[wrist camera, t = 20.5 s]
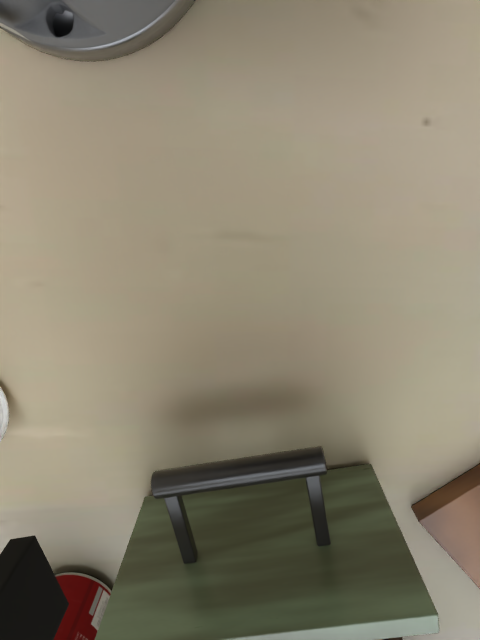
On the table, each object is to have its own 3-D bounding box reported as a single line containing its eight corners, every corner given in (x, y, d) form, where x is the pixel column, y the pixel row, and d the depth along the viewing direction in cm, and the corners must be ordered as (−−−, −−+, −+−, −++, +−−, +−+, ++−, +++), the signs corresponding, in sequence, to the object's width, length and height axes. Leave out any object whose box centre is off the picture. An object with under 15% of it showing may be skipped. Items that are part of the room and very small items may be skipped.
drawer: (121, 425, 29) (47, 557, 18) (361, 386, 27) (430, 505, 17) (192, 644, 35) (166, 837, 24) (389, 621, 34) (452, 816, 23)
